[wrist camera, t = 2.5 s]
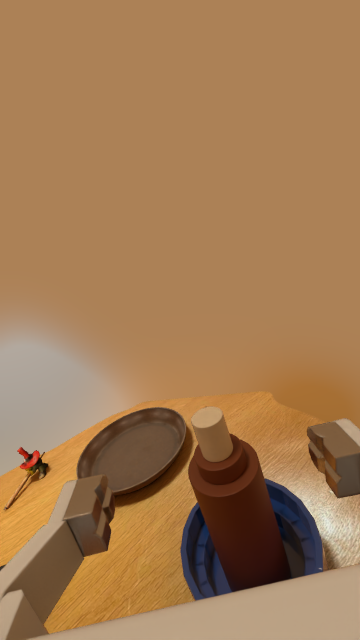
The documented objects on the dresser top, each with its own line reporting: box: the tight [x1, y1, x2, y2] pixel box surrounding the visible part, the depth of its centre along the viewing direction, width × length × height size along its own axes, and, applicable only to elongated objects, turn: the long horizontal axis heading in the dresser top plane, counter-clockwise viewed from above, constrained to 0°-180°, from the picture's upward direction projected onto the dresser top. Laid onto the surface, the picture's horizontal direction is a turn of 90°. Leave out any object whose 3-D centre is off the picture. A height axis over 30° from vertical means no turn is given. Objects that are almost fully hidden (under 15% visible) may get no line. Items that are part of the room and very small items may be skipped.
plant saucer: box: [77, 407, 186, 495], centre depth 48 cm, size 21×21×3 cm
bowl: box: [181, 479, 329, 601], centre depth 25 cm, size 13×13×5 cm
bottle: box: [188, 407, 291, 592], centre depth 24 cm, size 6×6×18 cm
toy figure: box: [4, 447, 48, 510], centre depth 50 cm, size 10×4×7 cm
